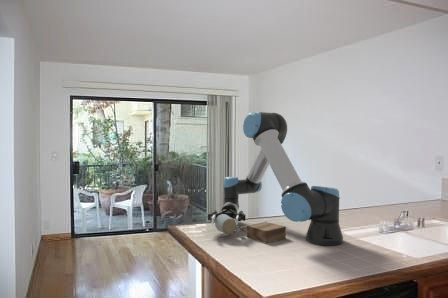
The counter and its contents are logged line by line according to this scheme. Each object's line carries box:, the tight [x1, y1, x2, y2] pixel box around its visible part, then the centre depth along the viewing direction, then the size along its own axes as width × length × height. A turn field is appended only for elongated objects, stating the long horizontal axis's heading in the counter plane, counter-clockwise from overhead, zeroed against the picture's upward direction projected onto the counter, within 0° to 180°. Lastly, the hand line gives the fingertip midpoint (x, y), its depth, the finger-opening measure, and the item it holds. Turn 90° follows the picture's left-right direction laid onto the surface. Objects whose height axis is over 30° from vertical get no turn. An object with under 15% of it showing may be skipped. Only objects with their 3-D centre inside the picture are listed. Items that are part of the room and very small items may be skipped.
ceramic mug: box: [214, 214, 242, 235], centre depth 160 cm, size 11×8×8 cm
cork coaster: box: [239, 225, 248, 232], centre depth 174 cm, size 9×9×1 cm
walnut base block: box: [246, 221, 287, 244], centre depth 159 cm, size 12×12×5 cm
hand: (224, 221), depth 155 cm, fingers closed on ceramic mug, 10 cm apart
